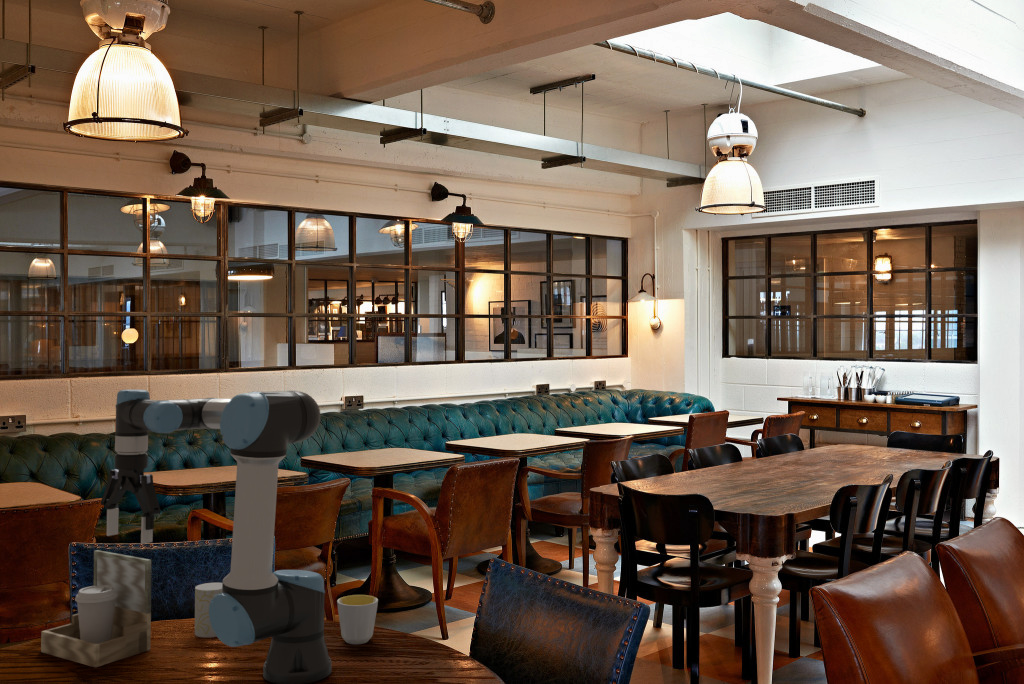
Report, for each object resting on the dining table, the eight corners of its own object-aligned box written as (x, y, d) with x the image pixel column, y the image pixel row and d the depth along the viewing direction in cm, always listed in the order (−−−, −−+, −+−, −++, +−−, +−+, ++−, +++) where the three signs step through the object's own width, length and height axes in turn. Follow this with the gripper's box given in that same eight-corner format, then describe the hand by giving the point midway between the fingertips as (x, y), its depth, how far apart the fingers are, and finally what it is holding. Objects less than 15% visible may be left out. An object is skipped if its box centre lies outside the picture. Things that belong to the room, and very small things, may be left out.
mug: (373, 647, 230) (374, 605, 230) (332, 647, 230) (333, 604, 230) (383, 631, 243) (383, 591, 243) (344, 630, 244) (344, 590, 244)
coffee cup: (101, 658, 220) (101, 595, 221) (65, 655, 222) (66, 593, 222) (125, 646, 230) (126, 585, 230) (91, 643, 232) (91, 583, 232)
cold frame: (154, 648, 228) (155, 558, 228) (95, 667, 214) (96, 572, 214) (101, 634, 239) (101, 549, 239) (41, 652, 225) (42, 561, 225)
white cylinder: (188, 635, 239) (188, 588, 239) (207, 626, 246) (207, 581, 247) (215, 638, 236) (215, 591, 236) (233, 629, 244) (234, 583, 244)
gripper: (177, 455, 224) (174, 543, 224) (114, 446, 238) (111, 529, 238) (150, 458, 218) (148, 548, 218) (87, 449, 231) (84, 534, 231)
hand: (129, 538), depth 228 cm, fingers open, 13 cm apart
